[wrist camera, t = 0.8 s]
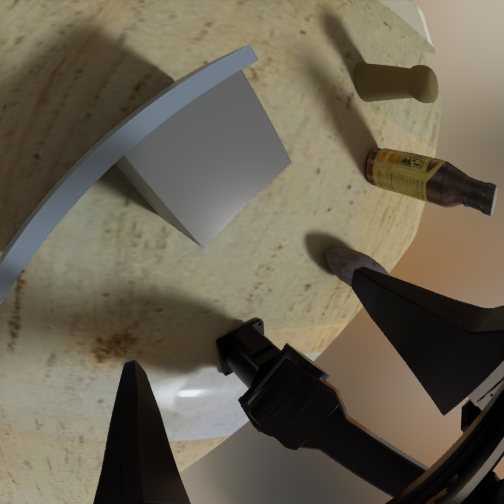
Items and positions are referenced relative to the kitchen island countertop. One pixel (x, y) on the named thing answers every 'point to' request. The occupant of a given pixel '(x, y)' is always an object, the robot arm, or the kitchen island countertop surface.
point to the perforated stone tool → (350, 263)
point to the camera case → (207, 160)
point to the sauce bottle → (428, 180)
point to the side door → (110, 158)
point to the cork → (395, 82)
